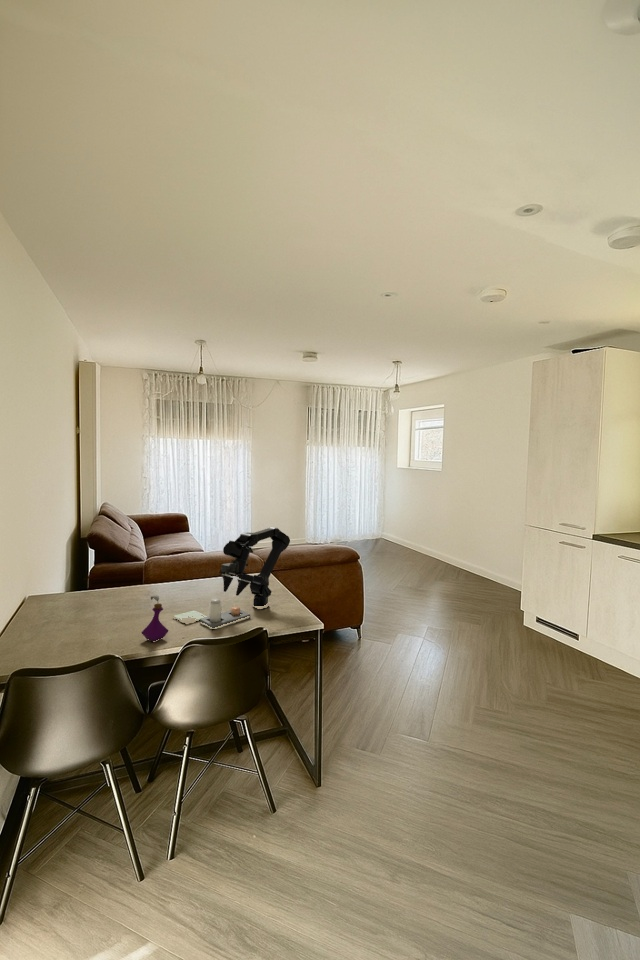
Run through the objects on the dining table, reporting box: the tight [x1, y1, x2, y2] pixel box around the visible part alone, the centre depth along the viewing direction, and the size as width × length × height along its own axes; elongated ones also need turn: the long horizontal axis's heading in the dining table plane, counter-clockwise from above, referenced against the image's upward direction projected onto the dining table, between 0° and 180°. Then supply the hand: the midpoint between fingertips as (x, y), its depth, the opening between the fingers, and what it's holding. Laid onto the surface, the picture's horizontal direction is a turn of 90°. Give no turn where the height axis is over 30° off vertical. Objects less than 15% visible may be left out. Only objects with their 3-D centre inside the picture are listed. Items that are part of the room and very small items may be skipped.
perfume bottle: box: [141, 594, 169, 642], centre depth 180 cm, size 8×8×18 cm
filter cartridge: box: [209, 598, 222, 623], centre depth 198 cm, size 5×5×11 cm
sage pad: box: [172, 610, 208, 620], centre depth 203 cm, size 11×11×1 cm
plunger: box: [230, 606, 241, 616], centre depth 206 cm, size 4×4×3 cm
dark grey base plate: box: [199, 609, 251, 628], centre depth 202 cm, size 20×10×2 cm, turn 137°
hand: (230, 593), depth 204 cm, fingers open, 9 cm apart
